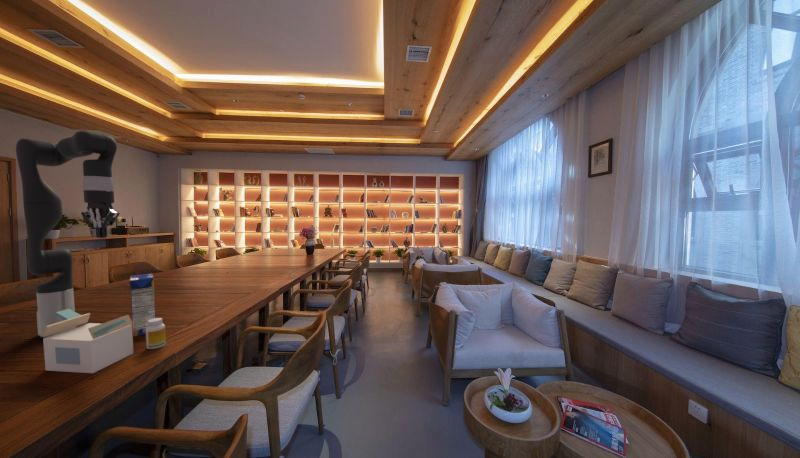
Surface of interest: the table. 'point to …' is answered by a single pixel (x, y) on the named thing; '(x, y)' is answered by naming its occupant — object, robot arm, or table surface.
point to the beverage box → (142, 302)
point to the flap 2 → (110, 326)
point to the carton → (86, 349)
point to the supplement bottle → (155, 334)
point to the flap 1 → (66, 321)
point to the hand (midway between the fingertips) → (101, 237)
